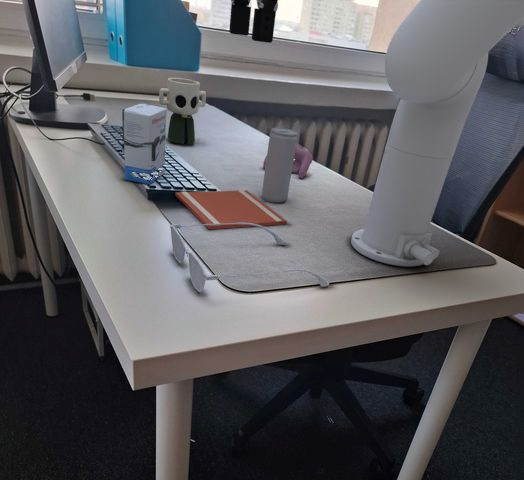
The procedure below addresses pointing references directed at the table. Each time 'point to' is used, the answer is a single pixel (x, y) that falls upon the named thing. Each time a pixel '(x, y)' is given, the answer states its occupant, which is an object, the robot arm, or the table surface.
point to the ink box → (144, 140)
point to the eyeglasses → (200, 276)
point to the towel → (229, 209)
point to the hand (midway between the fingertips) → (249, 37)
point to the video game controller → (299, 161)
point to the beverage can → (279, 164)
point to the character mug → (182, 107)
